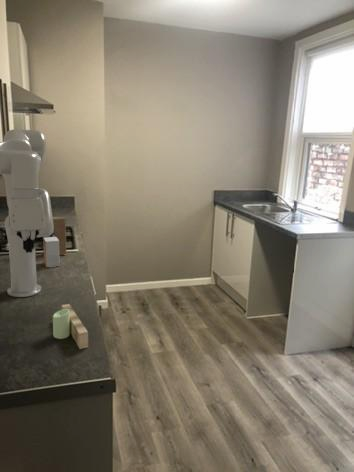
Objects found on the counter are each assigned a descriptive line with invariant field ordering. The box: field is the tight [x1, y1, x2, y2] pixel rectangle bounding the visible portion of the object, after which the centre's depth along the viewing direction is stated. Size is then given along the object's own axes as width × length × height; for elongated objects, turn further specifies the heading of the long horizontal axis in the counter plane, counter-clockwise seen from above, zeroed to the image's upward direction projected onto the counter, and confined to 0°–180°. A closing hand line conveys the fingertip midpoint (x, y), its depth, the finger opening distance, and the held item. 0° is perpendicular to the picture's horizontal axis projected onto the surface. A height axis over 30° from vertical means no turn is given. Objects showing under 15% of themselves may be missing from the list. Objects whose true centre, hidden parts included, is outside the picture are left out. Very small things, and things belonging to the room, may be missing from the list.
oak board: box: [61, 303, 89, 350], centre depth 122 cm, size 22×2×5 cm, turn 30°
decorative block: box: [43, 216, 67, 256], centre depth 199 cm, size 11×6×20 cm, turn 113°
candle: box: [52, 309, 71, 340], centre depth 119 cm, size 5×5×8 cm
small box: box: [42, 236, 61, 268], centre depth 184 cm, size 8×6×13 cm
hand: (28, 251), depth 120 cm, fingers closed
